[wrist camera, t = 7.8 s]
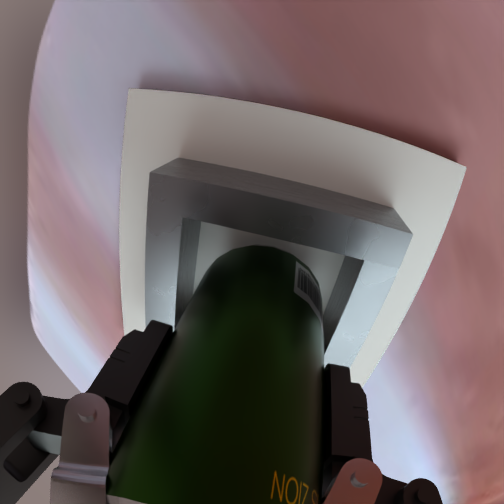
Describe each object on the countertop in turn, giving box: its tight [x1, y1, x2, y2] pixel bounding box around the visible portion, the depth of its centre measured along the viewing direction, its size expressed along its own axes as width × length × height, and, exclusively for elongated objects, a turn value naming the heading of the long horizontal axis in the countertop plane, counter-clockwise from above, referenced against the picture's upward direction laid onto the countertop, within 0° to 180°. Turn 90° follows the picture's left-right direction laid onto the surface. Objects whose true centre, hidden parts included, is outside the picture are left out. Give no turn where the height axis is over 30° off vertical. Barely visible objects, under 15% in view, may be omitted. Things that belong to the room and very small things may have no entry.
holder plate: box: [119, 88, 467, 388], centre depth 16 cm, size 16×16×1 cm
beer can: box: [106, 244, 325, 504], centre depth 9 cm, size 5×5×12 cm
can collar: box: [145, 158, 413, 369], centre depth 15 cm, size 10×10×3 cm
